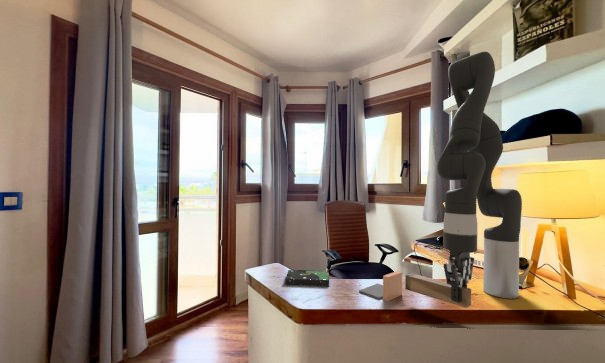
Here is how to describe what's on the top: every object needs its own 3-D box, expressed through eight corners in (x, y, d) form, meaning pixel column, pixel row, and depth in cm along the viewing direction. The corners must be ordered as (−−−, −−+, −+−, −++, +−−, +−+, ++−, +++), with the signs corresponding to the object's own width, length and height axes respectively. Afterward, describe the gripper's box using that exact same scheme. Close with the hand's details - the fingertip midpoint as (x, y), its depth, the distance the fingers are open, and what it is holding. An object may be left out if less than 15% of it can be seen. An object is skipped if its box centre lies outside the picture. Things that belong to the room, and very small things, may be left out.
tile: (397, 293, 89) (397, 270, 89) (402, 294, 88) (402, 272, 88) (382, 299, 84) (382, 275, 84) (387, 301, 82) (387, 277, 82)
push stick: (410, 286, 83) (410, 273, 83) (471, 304, 71) (471, 288, 71) (405, 289, 81) (405, 275, 81) (466, 308, 69) (466, 291, 69)
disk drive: (285, 287, 94) (329, 288, 93) (285, 278, 94) (329, 279, 93) (288, 277, 104) (328, 277, 104) (288, 269, 104) (328, 270, 104)
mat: (377, 285, 95) (377, 283, 95) (397, 291, 90) (397, 289, 90) (358, 292, 89) (359, 290, 89) (379, 299, 83) (379, 297, 83)
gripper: (465, 236, 64) (464, 312, 64) (486, 230, 73) (485, 297, 73) (432, 231, 70) (431, 301, 70) (455, 227, 79) (454, 289, 79)
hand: (459, 299), depth 71 cm, fingers closed on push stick, 3 cm apart
